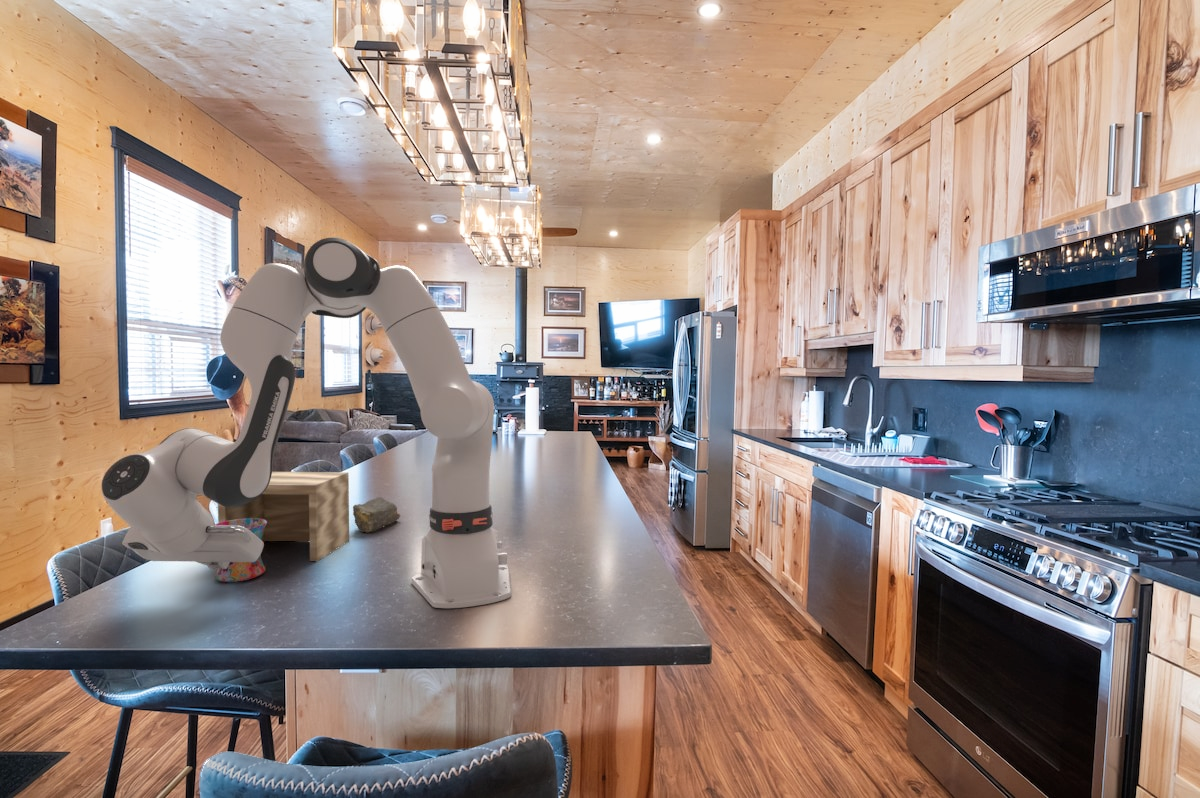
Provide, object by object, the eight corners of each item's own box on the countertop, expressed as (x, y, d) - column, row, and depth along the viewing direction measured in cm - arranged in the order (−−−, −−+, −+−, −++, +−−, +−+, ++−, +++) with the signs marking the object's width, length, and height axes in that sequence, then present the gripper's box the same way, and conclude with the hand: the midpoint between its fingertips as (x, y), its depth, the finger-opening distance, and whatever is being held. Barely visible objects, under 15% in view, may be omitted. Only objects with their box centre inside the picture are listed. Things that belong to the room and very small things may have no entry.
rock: (389, 517, 144) (349, 506, 144) (382, 543, 145) (342, 532, 144) (407, 499, 161) (372, 490, 161) (401, 522, 162) (366, 513, 161)
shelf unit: (316, 562, 124) (315, 485, 123) (219, 560, 124) (217, 484, 124) (349, 540, 139) (348, 472, 139) (262, 539, 140) (261, 471, 139)
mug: (253, 585, 111) (252, 530, 110) (201, 586, 110) (200, 530, 109) (282, 564, 123) (281, 514, 122) (236, 565, 122) (235, 514, 121)
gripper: (249, 512, 101) (282, 550, 111) (132, 510, 101) (176, 549, 111) (233, 545, 96) (269, 581, 107) (111, 544, 97) (158, 580, 107)
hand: (220, 565), depth 109 cm, fingers closed
